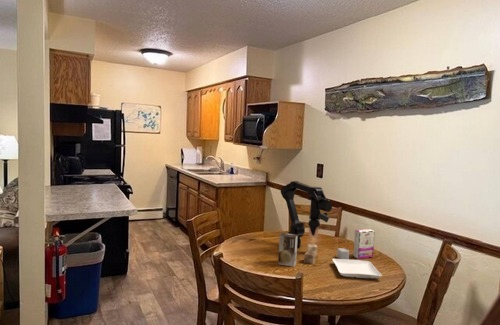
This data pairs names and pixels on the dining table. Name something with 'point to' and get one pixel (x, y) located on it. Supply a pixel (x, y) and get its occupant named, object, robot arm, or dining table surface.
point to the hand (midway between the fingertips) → (313, 234)
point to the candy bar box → (364, 243)
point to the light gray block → (343, 253)
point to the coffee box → (287, 249)
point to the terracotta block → (314, 234)
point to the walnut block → (309, 257)
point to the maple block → (312, 248)
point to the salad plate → (356, 268)
